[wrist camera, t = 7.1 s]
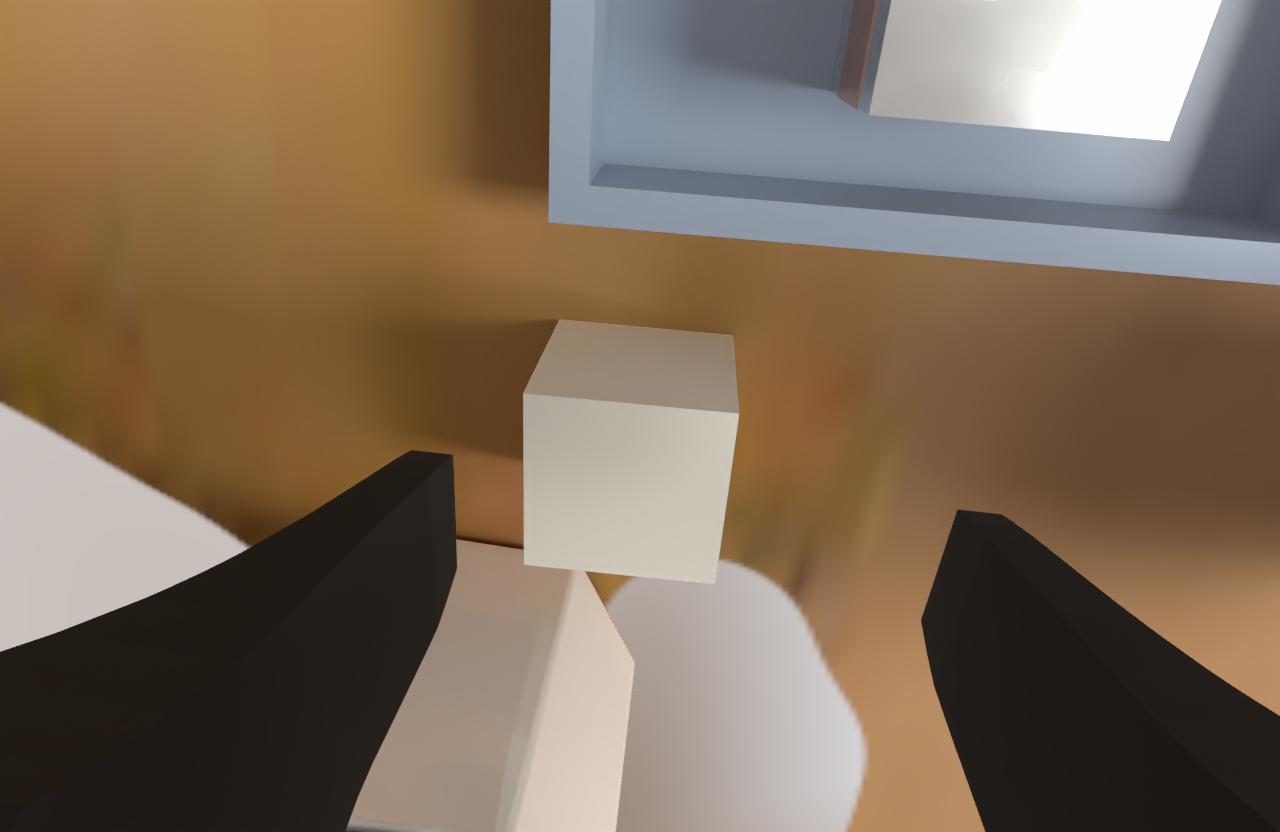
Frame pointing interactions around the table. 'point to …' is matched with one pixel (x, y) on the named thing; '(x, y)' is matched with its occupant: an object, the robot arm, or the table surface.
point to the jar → (508, 709)
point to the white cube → (629, 450)
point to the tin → (1024, 62)
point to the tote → (899, 148)
